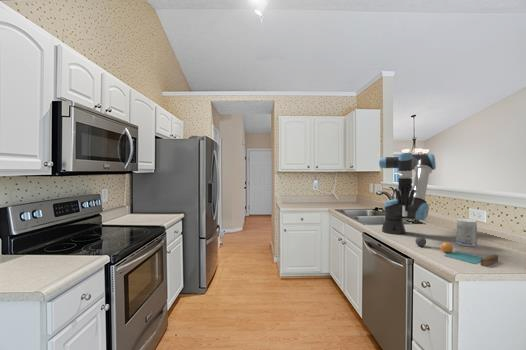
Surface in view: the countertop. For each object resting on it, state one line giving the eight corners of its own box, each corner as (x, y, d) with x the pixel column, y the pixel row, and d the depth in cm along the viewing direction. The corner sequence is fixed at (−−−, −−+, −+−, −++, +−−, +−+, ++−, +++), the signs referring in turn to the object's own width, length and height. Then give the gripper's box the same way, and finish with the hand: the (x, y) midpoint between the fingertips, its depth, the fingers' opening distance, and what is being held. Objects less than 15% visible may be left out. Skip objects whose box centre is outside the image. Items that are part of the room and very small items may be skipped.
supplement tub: (464, 242, 166) (465, 218, 166) (480, 246, 157) (481, 221, 157) (452, 243, 164) (452, 219, 163) (467, 247, 155) (468, 222, 154)
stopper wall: (480, 265, 127) (480, 258, 127) (493, 260, 134) (493, 254, 133) (485, 266, 125) (485, 260, 125) (498, 261, 132) (498, 255, 132)
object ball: (438, 252, 147) (438, 242, 147) (443, 250, 150) (444, 240, 150) (449, 254, 142) (449, 244, 142) (454, 253, 145) (455, 243, 145)
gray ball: (413, 245, 159) (413, 236, 159) (418, 244, 162) (418, 235, 162) (422, 248, 154) (422, 238, 154) (428, 246, 157) (428, 237, 157)
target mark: (443, 255, 141) (443, 255, 141) (457, 251, 148) (457, 251, 148) (475, 264, 129) (475, 263, 129) (488, 259, 135) (488, 258, 135)
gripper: (391, 177, 170) (391, 215, 170) (411, 178, 158) (411, 218, 159) (399, 177, 173) (398, 214, 174) (419, 178, 162) (418, 217, 163)
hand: (404, 216), depth 166 cm, fingers closed
